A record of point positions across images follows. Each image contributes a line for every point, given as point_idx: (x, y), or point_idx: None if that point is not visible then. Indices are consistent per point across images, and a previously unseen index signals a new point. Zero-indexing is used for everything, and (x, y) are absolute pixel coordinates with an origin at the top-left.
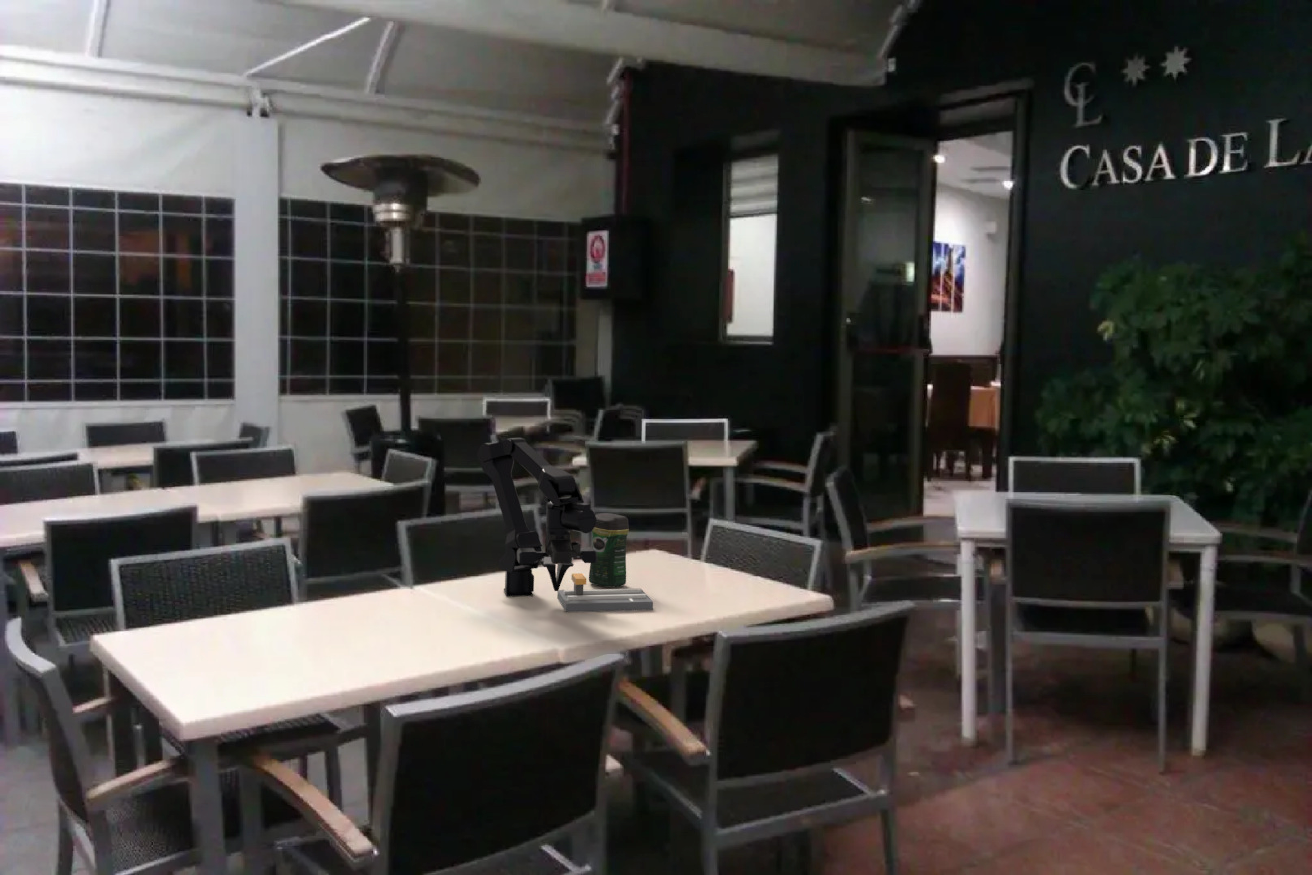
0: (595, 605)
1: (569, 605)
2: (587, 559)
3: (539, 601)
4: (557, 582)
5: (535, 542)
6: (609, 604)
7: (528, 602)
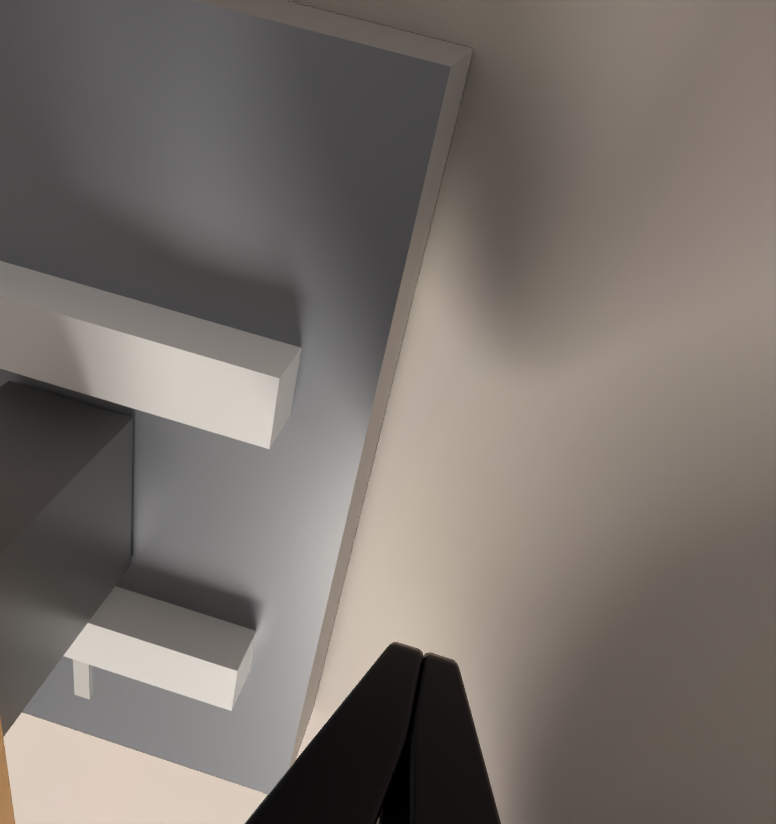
0: None
1: (384, 44)
2: None
3: (572, 704)
4: (384, 799)
5: None
6: None
7: (732, 728)
